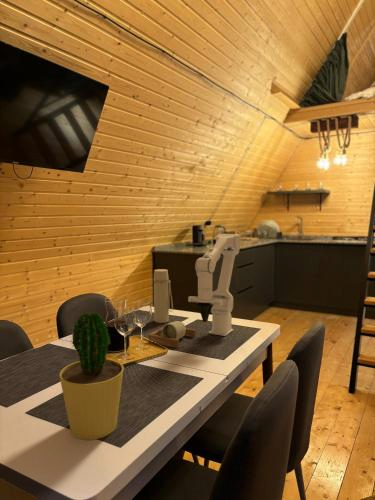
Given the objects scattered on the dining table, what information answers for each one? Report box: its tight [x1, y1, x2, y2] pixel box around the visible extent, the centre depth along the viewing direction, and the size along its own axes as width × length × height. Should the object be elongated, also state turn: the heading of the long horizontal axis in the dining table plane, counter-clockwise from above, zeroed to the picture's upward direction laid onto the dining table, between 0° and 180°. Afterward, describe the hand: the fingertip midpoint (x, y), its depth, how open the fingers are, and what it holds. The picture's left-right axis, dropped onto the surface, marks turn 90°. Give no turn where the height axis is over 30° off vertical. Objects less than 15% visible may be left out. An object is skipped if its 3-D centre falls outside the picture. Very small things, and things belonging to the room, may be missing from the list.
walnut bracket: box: [147, 327, 197, 349], centre depth 161 cm, size 15×14×3 cm
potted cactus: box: [59, 311, 125, 441], centre depth 95 cm, size 15×15×30 cm
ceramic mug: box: [160, 320, 187, 340], centre depth 161 cm, size 11×8×8 cm
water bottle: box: [153, 268, 174, 324], centre depth 184 cm, size 9×8×25 cm
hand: (205, 321), depth 155 cm, fingers closed
